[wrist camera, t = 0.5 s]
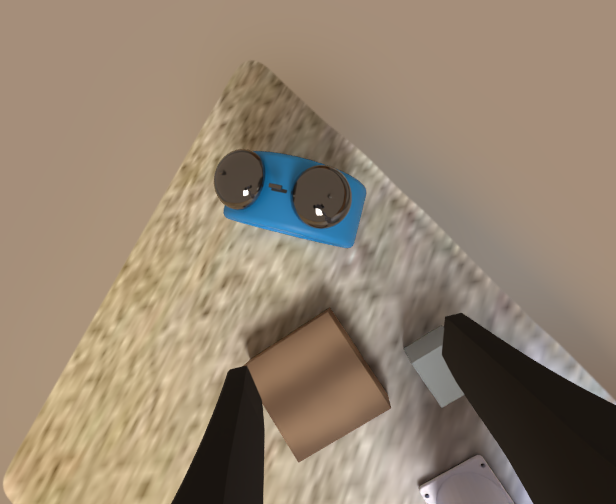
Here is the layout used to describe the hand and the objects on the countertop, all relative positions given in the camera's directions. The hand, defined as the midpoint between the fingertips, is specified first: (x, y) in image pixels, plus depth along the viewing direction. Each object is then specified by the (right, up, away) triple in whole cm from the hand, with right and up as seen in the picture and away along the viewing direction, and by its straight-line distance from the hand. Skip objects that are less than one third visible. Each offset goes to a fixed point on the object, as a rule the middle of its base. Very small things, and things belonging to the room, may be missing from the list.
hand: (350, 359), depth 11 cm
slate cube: (+13, -8, +23) cm, 28 cm away
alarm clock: (-2, +9, +26) cm, 27 cm away
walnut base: (0, -11, +25) cm, 27 cm away
